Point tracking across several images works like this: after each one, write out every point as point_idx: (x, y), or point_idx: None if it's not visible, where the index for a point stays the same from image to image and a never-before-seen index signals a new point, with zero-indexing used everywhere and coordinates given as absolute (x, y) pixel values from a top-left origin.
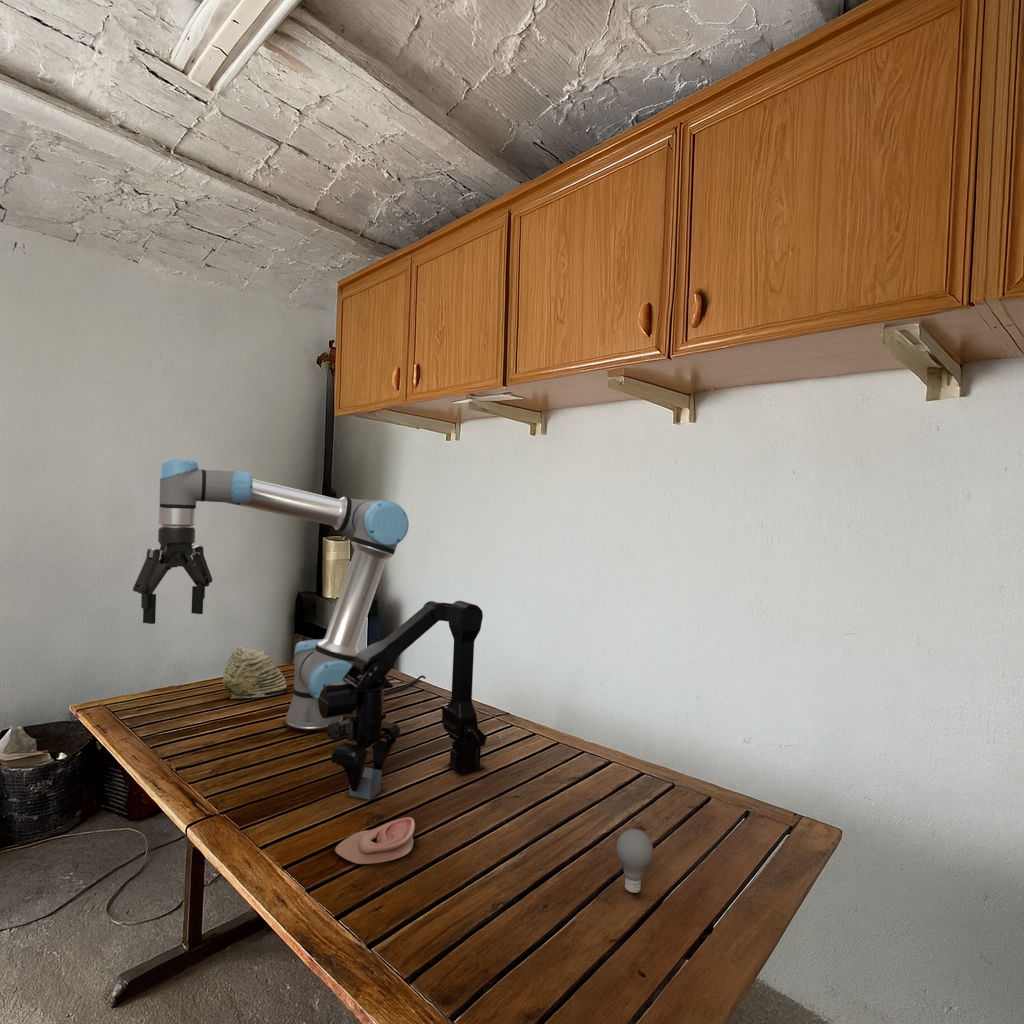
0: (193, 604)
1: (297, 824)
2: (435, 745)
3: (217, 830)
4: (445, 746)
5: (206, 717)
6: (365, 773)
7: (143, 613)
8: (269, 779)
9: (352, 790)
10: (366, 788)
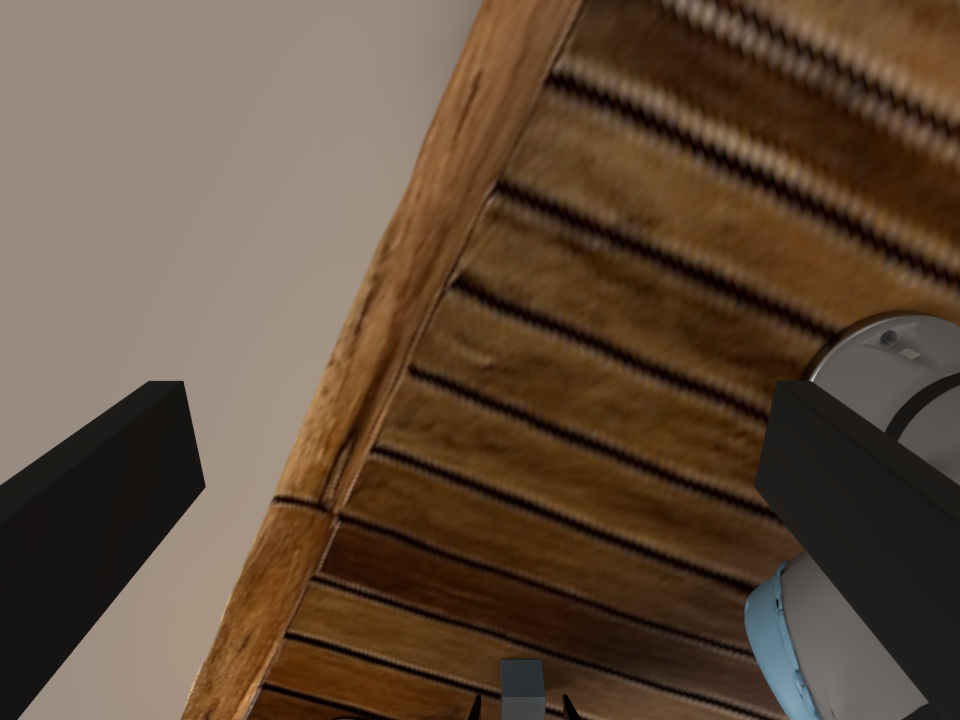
0: (827, 456)
1: (372, 640)
2: None
3: (289, 550)
4: None
5: (861, 14)
6: (517, 716)
7: (84, 432)
8: (501, 505)
9: (476, 696)
10: (500, 705)
